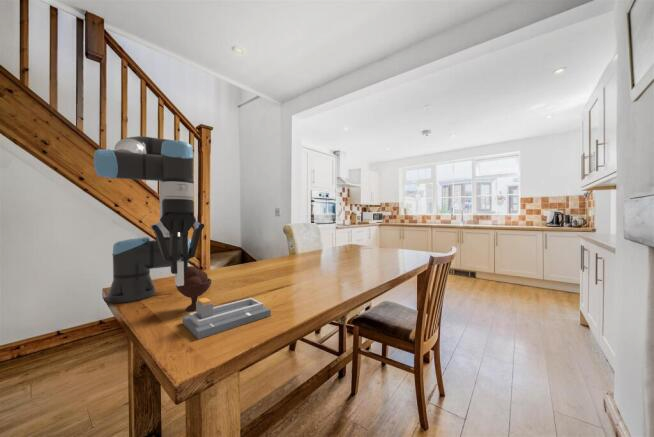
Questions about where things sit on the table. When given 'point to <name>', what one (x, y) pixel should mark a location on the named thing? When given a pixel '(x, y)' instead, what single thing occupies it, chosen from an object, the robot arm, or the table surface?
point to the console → (226, 317)
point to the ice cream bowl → (194, 285)
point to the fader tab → (204, 308)
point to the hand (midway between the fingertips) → (179, 284)
